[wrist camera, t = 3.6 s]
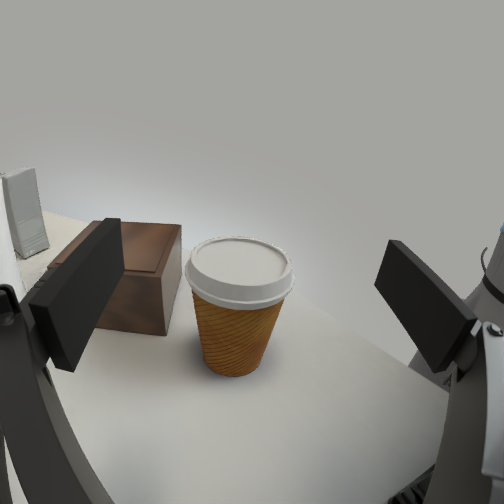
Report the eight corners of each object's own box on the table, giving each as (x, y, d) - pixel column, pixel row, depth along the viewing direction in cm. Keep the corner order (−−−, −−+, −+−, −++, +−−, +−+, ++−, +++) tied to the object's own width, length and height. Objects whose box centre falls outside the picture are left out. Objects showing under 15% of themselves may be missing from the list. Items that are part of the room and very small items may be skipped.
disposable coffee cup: (269, 327, 34) (286, 237, 29) (281, 389, 26) (309, 291, 21) (191, 323, 33) (191, 231, 28) (184, 386, 25) (176, 285, 19)
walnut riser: (181, 273, 43) (181, 223, 39) (166, 336, 31) (161, 276, 27) (99, 266, 42) (93, 219, 38) (63, 321, 29) (46, 265, 25)
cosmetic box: (50, 248, 44) (39, 166, 37) (21, 262, 39) (5, 176, 31) (36, 237, 47) (26, 164, 40) (9, 248, 42) (-3, 173, 35)
